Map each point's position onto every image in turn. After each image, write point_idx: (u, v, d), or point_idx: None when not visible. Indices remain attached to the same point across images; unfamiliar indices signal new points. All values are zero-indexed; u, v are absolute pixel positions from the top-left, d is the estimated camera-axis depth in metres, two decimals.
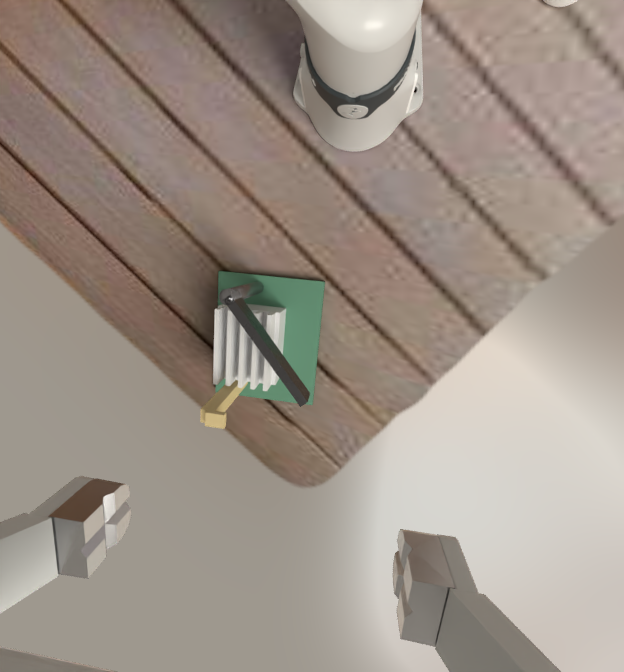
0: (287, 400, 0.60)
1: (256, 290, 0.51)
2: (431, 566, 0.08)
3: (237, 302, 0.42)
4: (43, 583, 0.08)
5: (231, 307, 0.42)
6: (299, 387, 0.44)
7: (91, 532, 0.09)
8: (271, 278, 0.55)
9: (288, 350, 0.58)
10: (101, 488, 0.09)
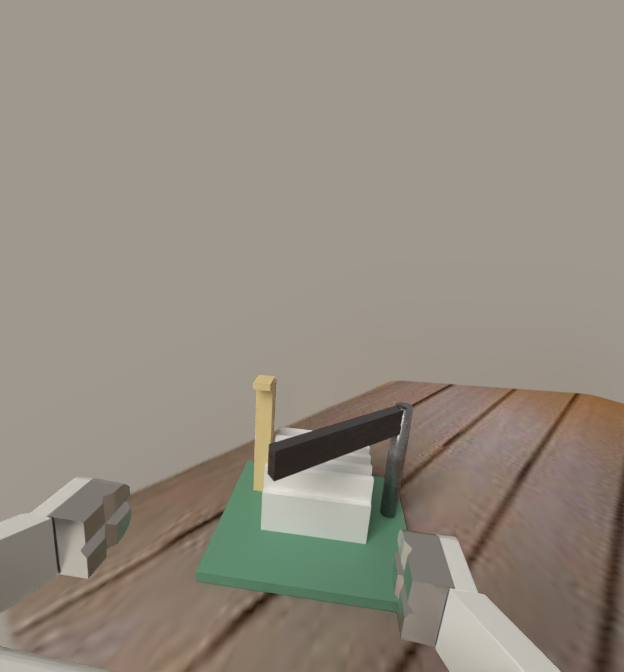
0: (215, 534, 0.37)
1: (393, 487, 0.40)
2: (431, 566, 0.08)
3: (400, 414, 0.37)
4: (43, 583, 0.08)
5: (394, 408, 0.37)
6: (295, 453, 0.29)
7: (91, 532, 0.09)
8: (404, 529, 0.39)
9: (299, 541, 0.37)
10: (101, 488, 0.09)
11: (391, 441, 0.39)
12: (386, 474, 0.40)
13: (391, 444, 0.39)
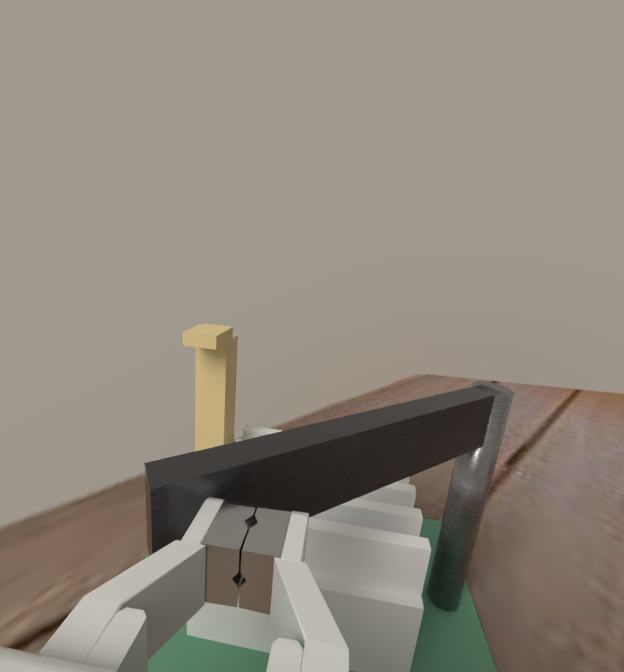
0: None
1: (461, 554, 0.20)
2: (267, 538, 0.08)
3: (488, 402, 0.17)
4: (194, 612, 0.08)
5: (473, 390, 0.18)
6: (227, 494, 0.10)
7: None
8: (481, 640, 0.19)
9: None
10: (238, 511, 0.09)
11: (461, 460, 0.19)
12: (446, 525, 0.20)
13: (460, 466, 0.19)
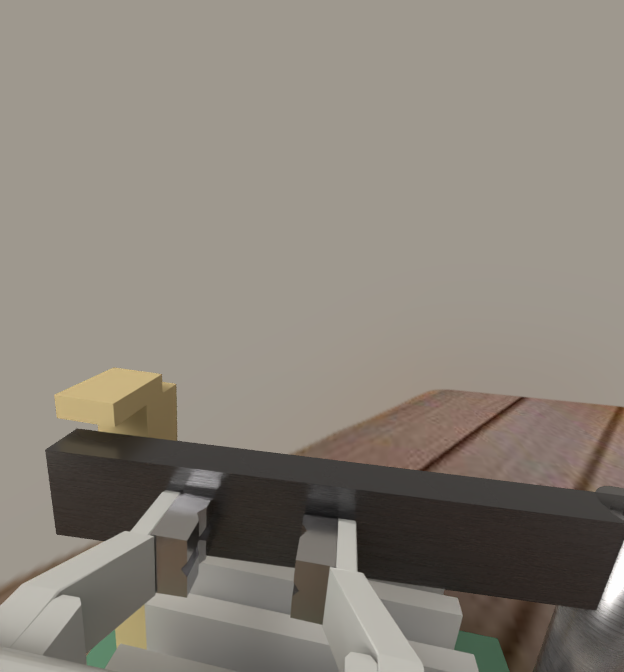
0: None
1: None
2: (319, 547, 0.08)
3: (608, 532, 0.09)
4: (143, 603, 0.08)
5: (583, 497, 0.10)
6: (115, 485, 0.10)
7: (191, 550, 0.08)
8: None
9: None
10: (192, 503, 0.09)
11: (557, 614, 0.11)
12: None
13: (555, 624, 0.11)
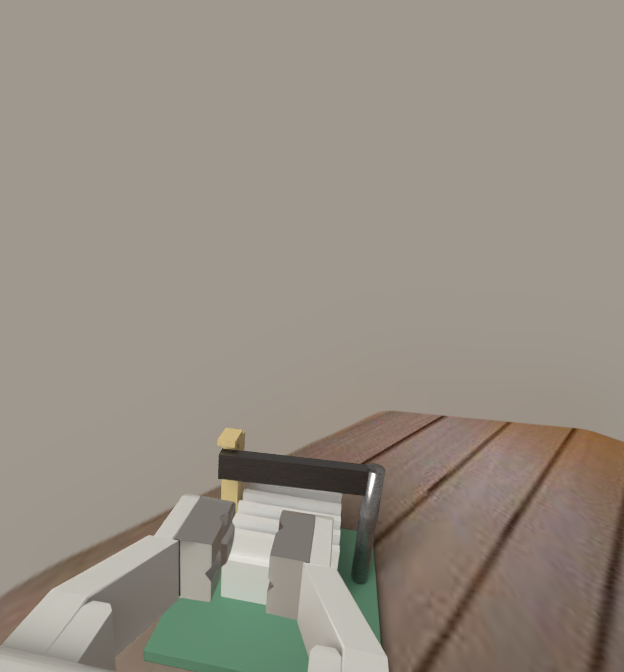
0: None
1: (358, 551, 0.37)
2: (294, 543, 0.08)
3: (364, 474, 0.35)
4: (167, 607, 0.08)
5: (362, 466, 0.36)
6: (237, 464, 0.36)
7: (215, 554, 0.08)
8: (374, 598, 0.37)
9: (260, 613, 0.34)
10: (214, 507, 0.09)
11: None
12: None
13: (361, 503, 0.37)
